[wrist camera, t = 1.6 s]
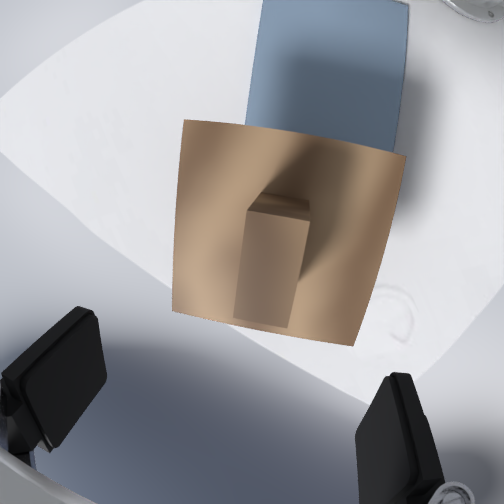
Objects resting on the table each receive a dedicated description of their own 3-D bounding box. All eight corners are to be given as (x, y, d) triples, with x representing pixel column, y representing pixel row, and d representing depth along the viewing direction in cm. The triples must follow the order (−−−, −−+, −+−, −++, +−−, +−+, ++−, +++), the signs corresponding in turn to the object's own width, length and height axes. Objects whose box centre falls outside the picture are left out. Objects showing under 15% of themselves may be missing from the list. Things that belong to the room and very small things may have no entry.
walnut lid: (401, 155, 18) (436, 163, 13) (351, 338, 23) (360, 392, 18) (189, 120, 20) (147, 116, 14) (176, 304, 25) (144, 348, 19)
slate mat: (406, 7, 21) (408, 5, 21) (390, 153, 27) (392, 153, 27) (267, -18, 23) (266, -21, 22) (245, 126, 29) (244, 126, 28)
